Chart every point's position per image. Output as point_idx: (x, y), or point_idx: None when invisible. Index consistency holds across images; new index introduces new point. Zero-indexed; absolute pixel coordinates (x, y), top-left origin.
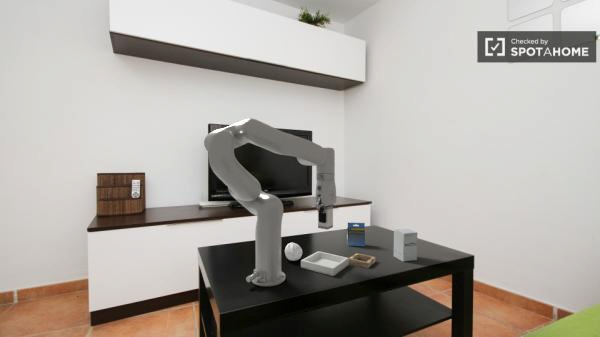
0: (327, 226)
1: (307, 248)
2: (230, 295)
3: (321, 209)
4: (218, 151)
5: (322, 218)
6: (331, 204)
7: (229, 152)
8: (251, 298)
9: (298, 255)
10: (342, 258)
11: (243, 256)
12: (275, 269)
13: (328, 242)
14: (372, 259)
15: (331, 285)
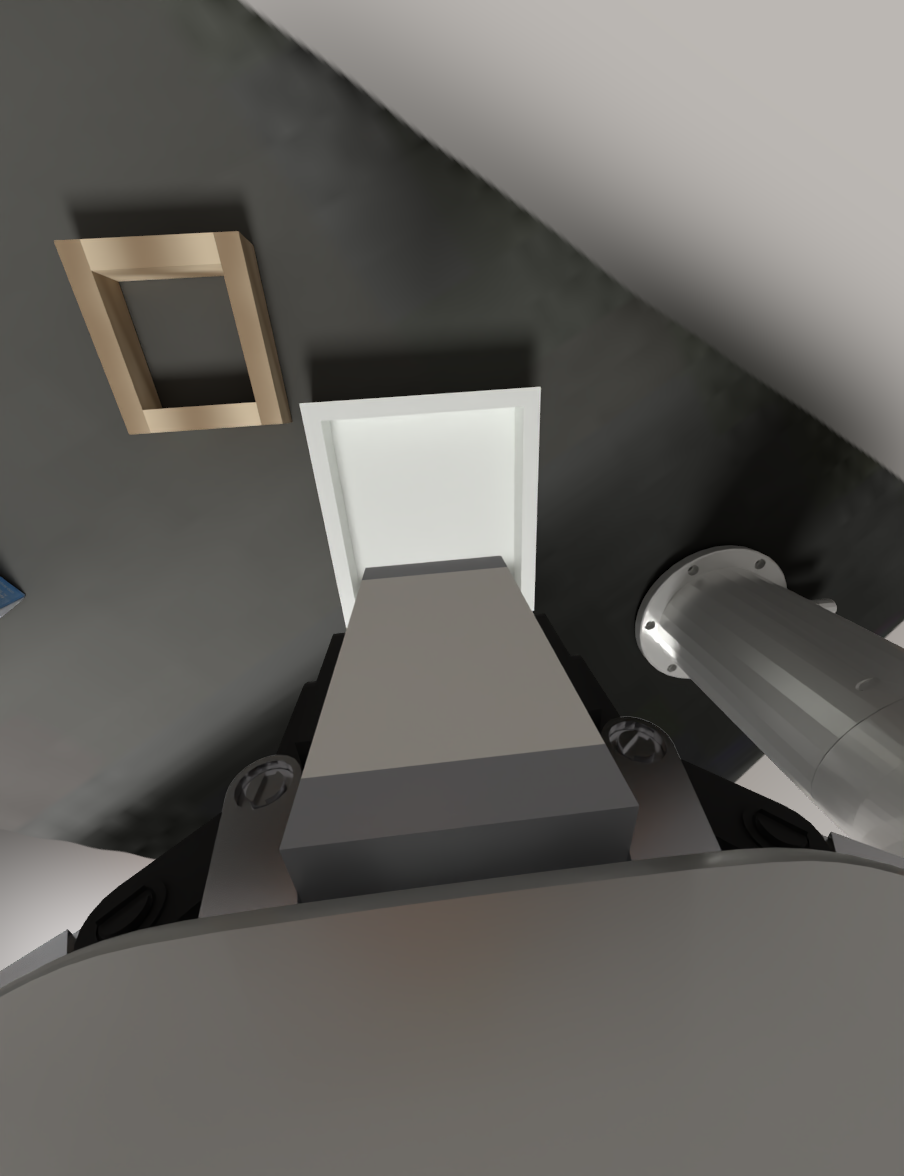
0: (509, 572)
1: (285, 724)
2: (871, 615)
3: (759, 810)
4: None
5: (590, 676)
6: (445, 892)
7: None
8: (875, 545)
9: None
10: (327, 446)
11: None
12: (784, 589)
13: (99, 709)
14: (133, 238)
15: (636, 326)
